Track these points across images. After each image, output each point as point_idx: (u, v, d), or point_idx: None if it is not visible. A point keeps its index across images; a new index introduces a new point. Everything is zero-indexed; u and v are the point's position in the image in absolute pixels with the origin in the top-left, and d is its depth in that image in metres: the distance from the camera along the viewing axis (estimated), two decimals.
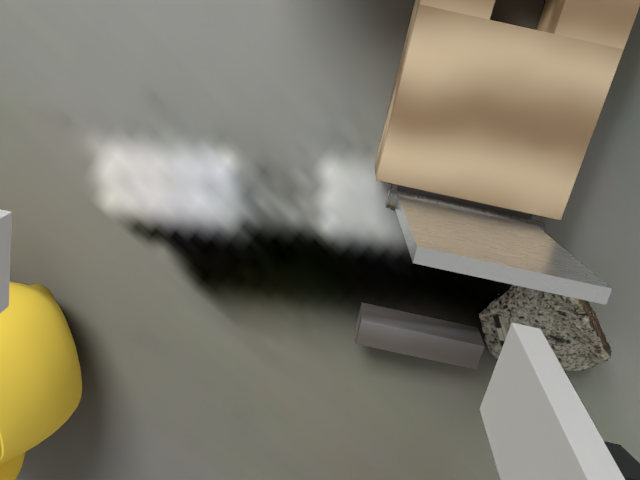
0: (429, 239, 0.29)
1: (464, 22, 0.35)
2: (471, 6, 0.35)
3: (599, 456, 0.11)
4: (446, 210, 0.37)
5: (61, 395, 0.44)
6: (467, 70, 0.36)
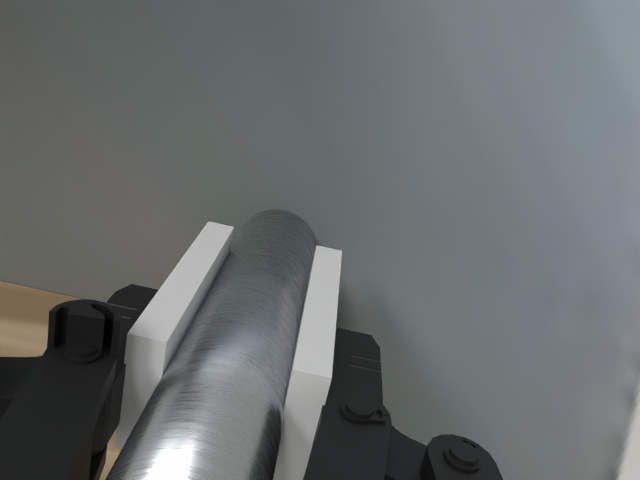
0: None
1: None
2: None
3: (322, 331, 0.13)
4: None
5: None
6: None
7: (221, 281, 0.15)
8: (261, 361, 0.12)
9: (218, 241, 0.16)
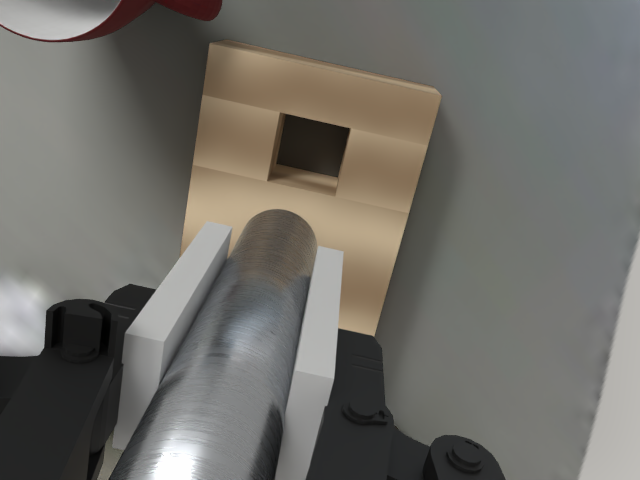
0: None
1: (241, 183, 0.33)
2: (246, 168, 0.33)
3: (325, 332, 0.13)
4: None
5: None
6: None
7: (224, 278, 0.15)
8: (264, 355, 0.12)
9: (217, 240, 0.16)
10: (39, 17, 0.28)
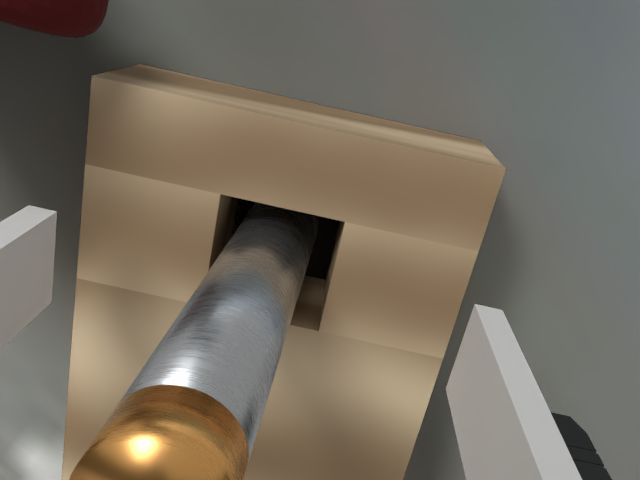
0: None
1: (159, 308, 0.20)
2: (168, 284, 0.19)
3: (543, 423, 0.12)
4: None
5: None
6: None
7: (231, 244, 0.17)
8: (261, 302, 0.14)
9: (26, 225, 0.15)
10: None
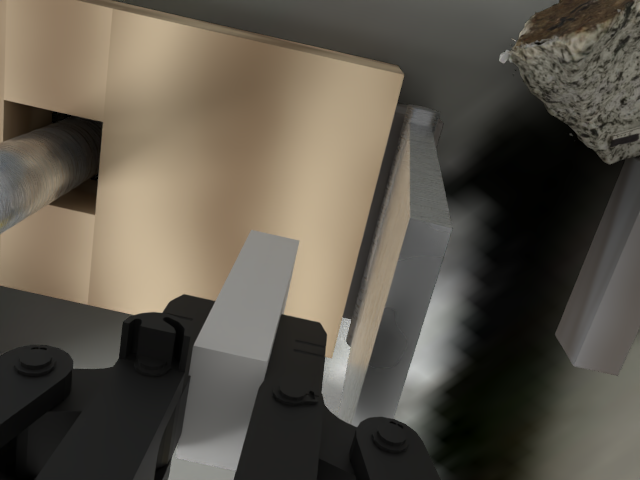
0: None
1: (102, 248, 0.25)
2: (81, 239, 0.25)
3: (266, 317, 0.13)
4: (367, 287, 0.23)
5: None
6: (166, 241, 0.25)
7: None
8: None
9: (264, 250, 0.16)
10: None
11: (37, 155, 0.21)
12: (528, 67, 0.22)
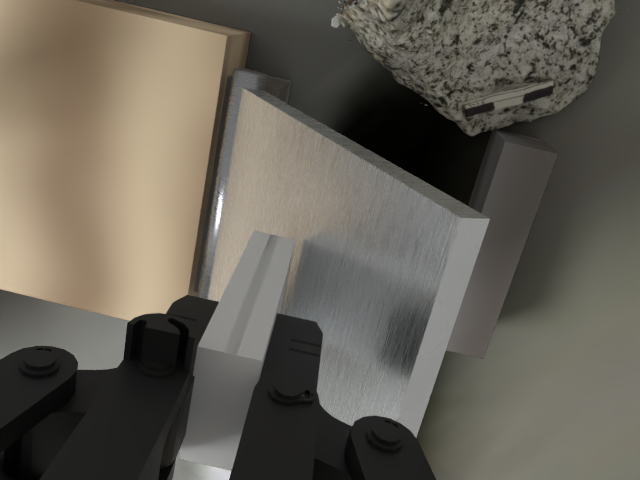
0: None
1: None
2: None
3: (261, 316, 0.13)
4: (229, 264, 0.22)
5: None
6: (7, 209, 0.24)
7: None
8: None
9: (267, 250, 0.16)
10: None
11: None
12: (359, 31, 0.21)
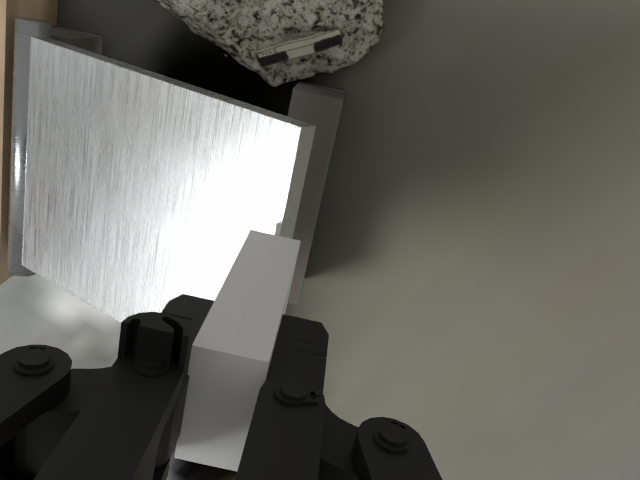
0: None
1: None
2: None
3: (267, 317, 0.13)
4: (49, 209, 0.23)
5: None
6: None
7: None
8: None
9: (263, 249, 0.16)
10: None
11: None
12: None
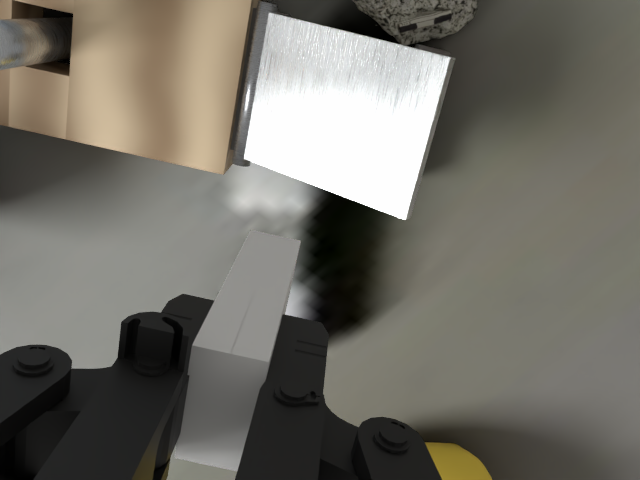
0: (380, 196, 0.35)
1: (74, 99, 0.39)
2: (60, 93, 0.39)
3: (267, 317, 0.13)
4: (270, 120, 0.38)
5: (442, 474, 0.45)
6: (114, 93, 0.39)
7: None
8: None
9: (263, 249, 0.16)
10: None
11: (32, 27, 0.35)
12: None
